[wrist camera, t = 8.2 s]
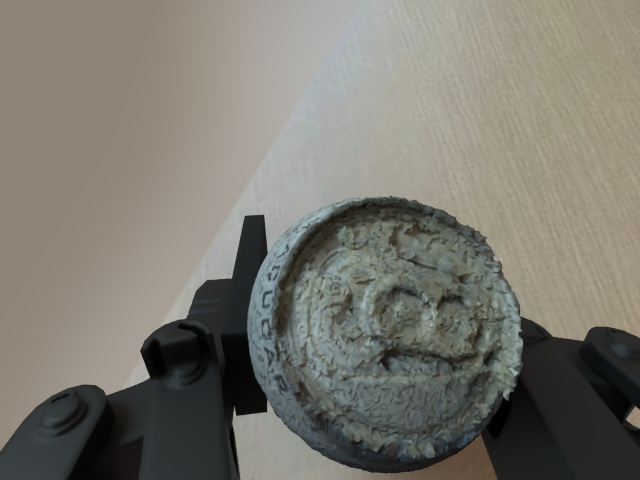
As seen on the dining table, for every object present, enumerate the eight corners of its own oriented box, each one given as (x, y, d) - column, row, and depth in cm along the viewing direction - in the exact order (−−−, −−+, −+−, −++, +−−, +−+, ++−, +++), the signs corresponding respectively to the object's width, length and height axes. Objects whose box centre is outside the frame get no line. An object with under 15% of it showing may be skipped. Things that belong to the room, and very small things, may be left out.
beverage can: (419, 305, 16) (696, 215, 5) (362, 462, 14) (648, 1029, 2) (267, 232, 17) (194, 9, 6) (188, 368, 15) (-213, 460, 3)
